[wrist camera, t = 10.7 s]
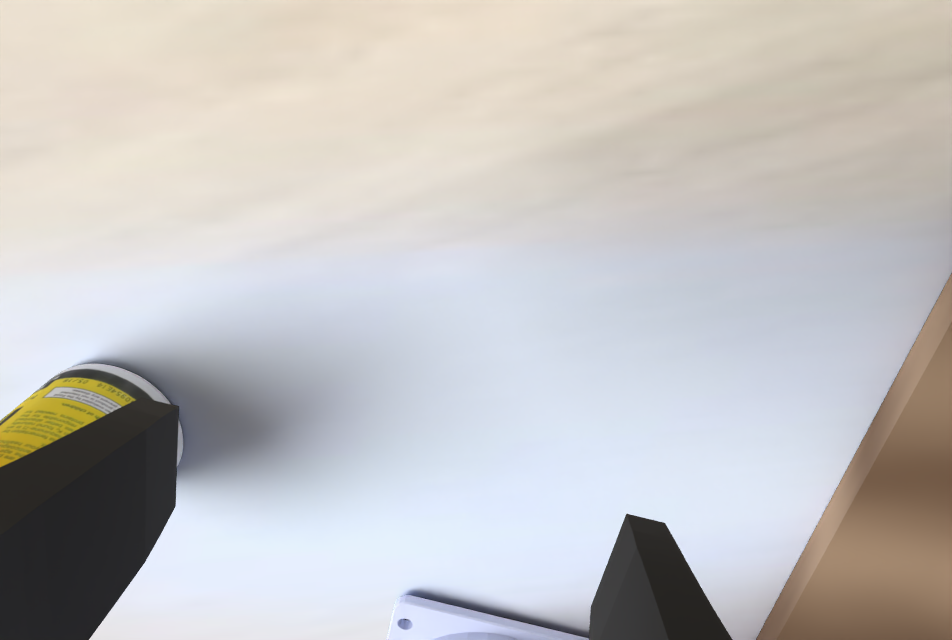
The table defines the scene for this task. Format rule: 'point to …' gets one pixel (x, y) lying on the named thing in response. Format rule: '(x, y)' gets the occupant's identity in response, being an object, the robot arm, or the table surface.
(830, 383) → the table surface
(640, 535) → the robot arm
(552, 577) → the table surface
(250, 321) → the table surface
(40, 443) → the supplement bottle
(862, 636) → the lens collar
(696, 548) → the table surface
